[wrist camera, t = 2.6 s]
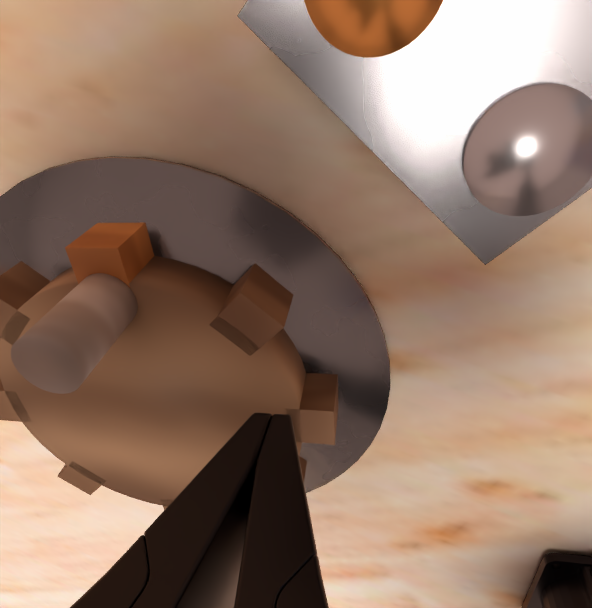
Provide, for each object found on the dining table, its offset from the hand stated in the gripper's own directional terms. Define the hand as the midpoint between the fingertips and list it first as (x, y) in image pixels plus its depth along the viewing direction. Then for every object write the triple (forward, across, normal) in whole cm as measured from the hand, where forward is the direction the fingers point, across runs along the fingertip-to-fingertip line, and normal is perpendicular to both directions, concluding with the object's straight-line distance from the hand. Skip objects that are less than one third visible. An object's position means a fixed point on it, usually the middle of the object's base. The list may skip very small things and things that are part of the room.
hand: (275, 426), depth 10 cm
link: (+8, -3, -7) cm, 11 cm away
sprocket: (+7, +7, +5) cm, 11 cm away
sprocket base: (+7, +7, +5) cm, 11 cm away
